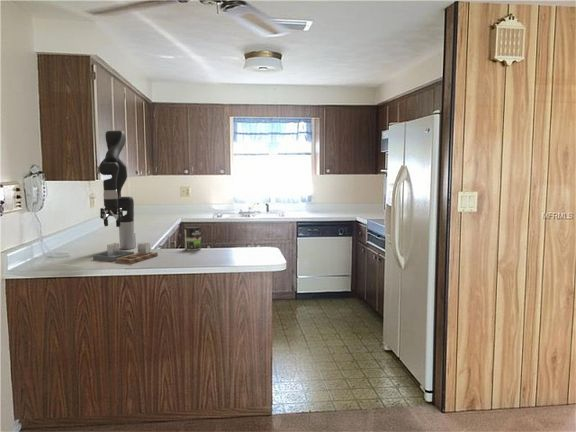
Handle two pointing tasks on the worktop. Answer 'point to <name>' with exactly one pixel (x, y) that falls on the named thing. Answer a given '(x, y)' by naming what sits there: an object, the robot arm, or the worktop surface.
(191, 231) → the coffee can
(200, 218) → the worktop surface
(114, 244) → the block
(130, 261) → the pallet
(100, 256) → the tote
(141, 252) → the block
